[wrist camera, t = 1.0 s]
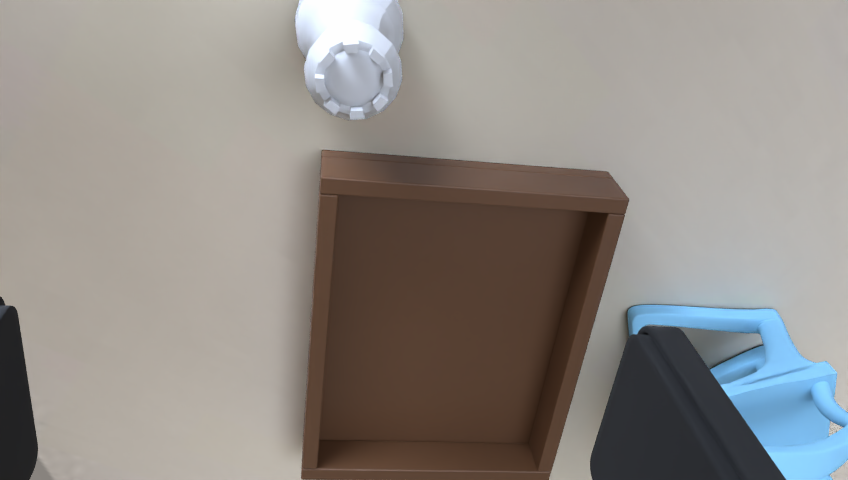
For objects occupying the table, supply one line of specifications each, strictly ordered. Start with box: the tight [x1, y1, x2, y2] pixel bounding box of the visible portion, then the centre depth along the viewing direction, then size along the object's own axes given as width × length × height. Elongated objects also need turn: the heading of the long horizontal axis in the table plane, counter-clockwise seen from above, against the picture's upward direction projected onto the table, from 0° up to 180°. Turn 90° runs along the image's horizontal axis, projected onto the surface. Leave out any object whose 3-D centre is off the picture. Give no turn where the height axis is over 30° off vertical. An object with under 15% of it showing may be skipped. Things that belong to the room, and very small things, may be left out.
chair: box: [628, 305, 848, 480], centre depth 36 cm, size 8×8×12 cm
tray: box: [301, 150, 629, 480], centre depth 37 cm, size 18×14×3 cm
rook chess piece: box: [295, 0, 404, 120], centre depth 27 cm, size 4×4×8 cm
